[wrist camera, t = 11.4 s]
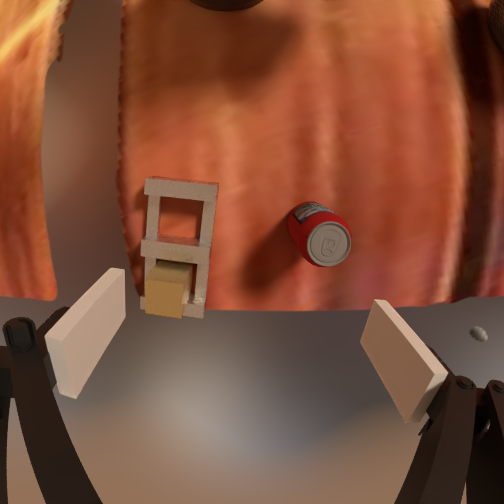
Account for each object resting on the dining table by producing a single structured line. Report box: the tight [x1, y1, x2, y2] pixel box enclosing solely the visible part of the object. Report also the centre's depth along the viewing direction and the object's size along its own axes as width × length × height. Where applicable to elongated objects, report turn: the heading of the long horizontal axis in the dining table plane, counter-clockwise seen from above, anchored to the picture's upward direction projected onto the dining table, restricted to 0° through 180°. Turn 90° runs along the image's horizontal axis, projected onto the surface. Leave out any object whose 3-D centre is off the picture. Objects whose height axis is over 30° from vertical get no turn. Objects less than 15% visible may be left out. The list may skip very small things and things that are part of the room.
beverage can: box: [288, 202, 352, 267], centre depth 41 cm, size 7×7×12 cm
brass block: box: [145, 259, 194, 319], centre depth 44 cm, size 5×5×10 cm
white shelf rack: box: [140, 176, 219, 318], centre depth 45 cm, size 20×10×4 cm, turn 172°
